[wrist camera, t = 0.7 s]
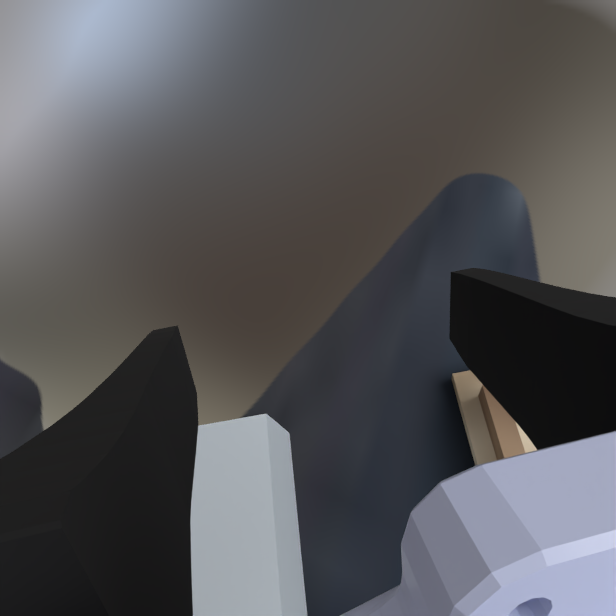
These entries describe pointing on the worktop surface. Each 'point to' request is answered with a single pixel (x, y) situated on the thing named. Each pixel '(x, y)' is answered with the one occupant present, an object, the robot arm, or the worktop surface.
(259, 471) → the block
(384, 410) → the worktop surface
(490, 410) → the cradle jig
